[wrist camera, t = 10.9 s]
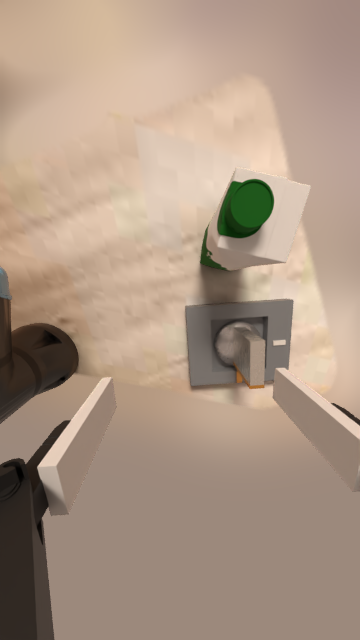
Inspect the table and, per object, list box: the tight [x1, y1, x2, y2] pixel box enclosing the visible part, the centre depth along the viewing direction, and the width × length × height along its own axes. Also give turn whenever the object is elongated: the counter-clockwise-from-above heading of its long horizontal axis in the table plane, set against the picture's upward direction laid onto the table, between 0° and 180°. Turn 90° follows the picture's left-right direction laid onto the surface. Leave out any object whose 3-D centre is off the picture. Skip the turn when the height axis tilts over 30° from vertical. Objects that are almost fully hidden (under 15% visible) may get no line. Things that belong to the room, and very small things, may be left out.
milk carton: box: [200, 167, 311, 271], centre depth 25 cm, size 9×9×20 cm
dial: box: [214, 321, 265, 389], centre depth 34 cm, size 10×10×10 cm
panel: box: [185, 299, 293, 386], centre depth 38 cm, size 22×18×3 cm
